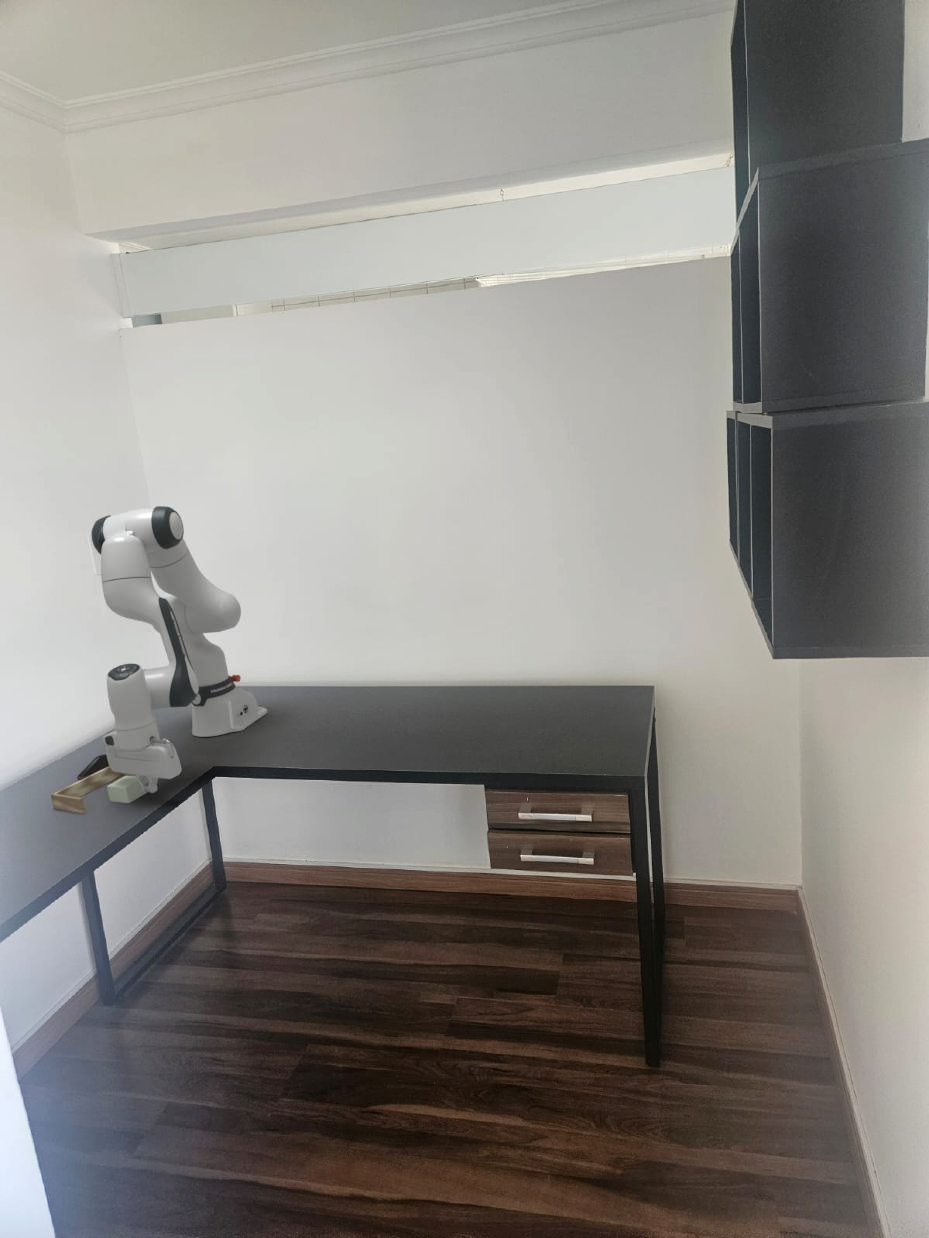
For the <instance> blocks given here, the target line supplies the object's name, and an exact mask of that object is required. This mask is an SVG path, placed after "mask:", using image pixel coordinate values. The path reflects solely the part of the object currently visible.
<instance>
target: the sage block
mask: <svg viewBox="0 0 929 1238" xmlns="http://www.w3.org/2000/svg"><path fill="white" fill-rule="evenodd" d="M106 788H107V792H108V794H107V795H108V798H109V802H114V803H121V804H130V803H132V802H134V801H136V800H137V799H138V798H139V799H140V797H143V796H145V794H148V792H143V789H142V785H141V784H140V783H139V781H138V780H137V779H136V776H124V775H123V777H121V778H119V779H117V780H115V781H114V782H112V783H110V784H108V785H107V786H106Z"/></svg>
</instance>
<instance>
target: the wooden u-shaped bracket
mask: <svg viewBox="0 0 929 1238" xmlns="http://www.w3.org/2000/svg"><path fill="white" fill-rule="evenodd" d="M122 776H123V777H124V776H136V775H134V774H127V773H120V772H114V771H113V770H112V769H111V768H110V766H108V767H106V768H104V769H102V770H100V771H98V772H96V773H94V774H92V775H90V776H88V777H86V778H84V779H82V780H77V781H76V782H74V783H71V784H70V785H68V786H66V787H64V788H61V789H60V790H58V791H55V792H54V793H52V794H50V798H51V801H52V806H53V809H54V810H55V809H56V810H60V811H66V812H73V813H76V814H77V813H78V814H85V813H87V811H86V804H85V802H84V798H83V796H85V795H86V794H88V793H90V792H92V791H94V790H97V789H99V788H100V787H102V786H104V785H107V784H108V783H110V782H111V781H114V780H116V779H117V778H120V777H122ZM146 777H147V776H146Z"/></svg>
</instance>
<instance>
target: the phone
mask: <svg viewBox="0 0 929 1238" xmlns="http://www.w3.org/2000/svg"><path fill="white" fill-rule="evenodd" d="M108 766H109V763H108V759H107V755H106V754H101V755H97V756H96V757H94V758H93V760H92V761H90V763H89V764H88V765H87V766H86V767H85V768H84V769H83V770H82V771H81V772H80V773H79V774H78V775H77V777H76V778H77V781H80V780H82V779H84V778H86V777H88V776H90V775H92V774H94V773H96V772H98V771H100V770H102V769H104V768H106V767H108Z"/></svg>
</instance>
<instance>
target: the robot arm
mask: <svg viewBox="0 0 929 1238" xmlns="http://www.w3.org/2000/svg"><path fill="white" fill-rule="evenodd" d="M184 534H185V533H184V523H183V520H182V518H181V516H180V514H179V513H178V512H177V510H175V509H174V508H172V507H170V506H164V505H162V506H159V505H158V506H155V507H146V508H145V507H144V508H136V509H131V510H129V511H124V512H121V513H117V514H113V515H106V516H103V517H100V518H99V519H96V521H94V524H93V526H92V528H91V534H90V537H91V541H92V544H93V546H94V549H95V550H96V552H97V553H98V554H99V555H100V574H101V576H100V578H101V586H102V593H103V597H104V601H105V603H106V606H107V607H108V608H109V609H110V610H111V611H112V612H113V613H115V614H116V615H117V616H120V617H123V618H125V619H129V620H134V621H137V622H138V621H139V622H142V623H146V624H149V625H151V626H152V628H153V629H154V630H155V631H156V632H157V633H159V635H160V638H161V641H162V644H163V647H164V651H165V654H166V656H167V659H168V663H169V664H168V665H166V666H161V667H154V668H147V669H146V668H145V669H143V668H142V667H141V665H140V664H137V663H125V664H121V665H118V666H116V667H113V668H112V669H111V670H109V672H107V675H106V688H107V689H106V690H107V698H108V704H109V707H110V711H111V713H112V715H113V717H114V729H115V730H113V731H112V732H110V733H108V734H105V735H104V736H102V742H103V744H104V745H105V755H107V759H108V763H109V766H110V768H111V769H112V770H113V771H114V772H120V773H127V774H134V775H136V779H137V780H138V781H139V783H140V784H141V785H142V789H143V792H147V793H151V794H154V793H156V792H157V791H158V785H157V784H158V780H159V779H165V780H172V779H175V777H177V776H179V775H180V774H181V772H182V765H181V761H180V759H179V754H178V753H177V750H176V747H175V746H174V744H173V743H172V742H170V740H168V738H166V737H160V732H159V729H158V724H157V718H156V716H155V713H154V712H153V710H159V709H165V708H168V709H169V708H187V707H189V705H191V714H192V715H191V720H192V722H191V723H192V724H191V726H192V728H191V734H192V736H195V737H200V738H204V737H207V738H208V737H217V736H221V735H225V734H229V733H233V732H241V731H244V730H245V729H246V728H247V727H249V726H250V725H252V724H254V723H255V722H256V721H258V720H259V719H261V718H262V717H263V716H265V715H266V714H268V710H267V708H265V707H262V706H258V705H259V704H258V702H257V699H256V697H255V696H254V694H253V693H251V692H249V691H246V690H244V689H242V688H240V687H237V686H236V683H239V682H240V681H241V679H242V678H241V675H240V674H232V675H229V672H228V665H227V661H226V660H227V659H226V655H225V652H224V650H223V649H222V648H221V647H220V646H219V645H216V644H215V643H212V642H211V641H210V640H209V639H208V638H206V636H205V635H204V634H210V633H220V632H225V631H227V630H228V631H229V630H231V629H234V628H235V627H236V626H237V625H238V623H239V622H240V619H241V615H242V609H241V605H240V602H239V600H238V599H237V598H236V596H234V595H233V594H231V593H229V592H227V591H224V590H222V589H221V588H219V587H217V585H215V584H213V582H211V581H210V580H209V579H208V578H207V577H206V576H204V574H203V573H202V572H201V570H200V569H199V567H198V565H197V564H196V562H195V560H194V558H193V555H192V554H191V552H190V551H191V550H190V549H189V547H188V545H187V543H186V541H185V540H184ZM152 577H153V578H152ZM153 579H154V580H155V582H156V584H157V587H158V588H159V589H160V590H162V591H163V592H165V593H166V594H168V595H171V596H167V597H161V596H160V595H159V594H158V592H157V590H156V589H155V586H154V584H153V583H154V582H153ZM146 776H147V777H146Z"/></svg>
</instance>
